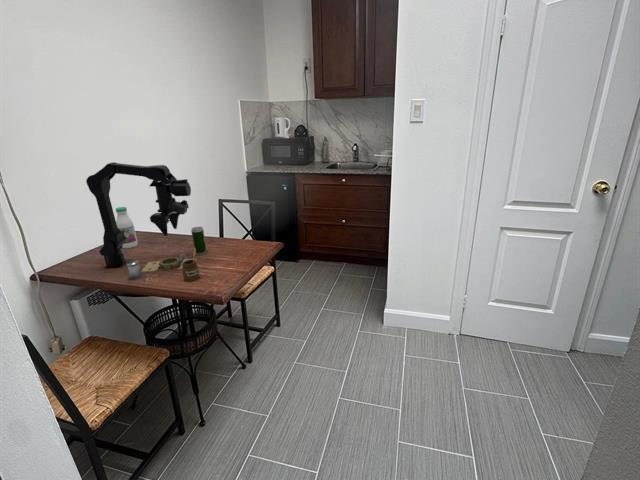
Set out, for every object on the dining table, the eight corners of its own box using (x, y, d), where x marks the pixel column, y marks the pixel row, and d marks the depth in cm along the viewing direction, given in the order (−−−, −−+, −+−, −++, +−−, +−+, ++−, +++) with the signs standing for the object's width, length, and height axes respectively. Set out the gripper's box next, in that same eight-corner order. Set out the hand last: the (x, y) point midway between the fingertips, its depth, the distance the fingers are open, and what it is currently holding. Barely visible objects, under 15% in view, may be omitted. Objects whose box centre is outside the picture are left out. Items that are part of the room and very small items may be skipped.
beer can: (196, 255, 159) (192, 230, 155) (193, 251, 163) (189, 228, 159) (208, 252, 162) (204, 228, 157) (204, 249, 166) (201, 225, 162)
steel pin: (127, 280, 136) (124, 265, 134) (132, 275, 140) (128, 260, 138) (140, 279, 137) (136, 264, 134) (144, 274, 141) (140, 259, 139)
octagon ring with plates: (141, 272, 142) (139, 267, 141) (149, 263, 152) (148, 258, 151) (193, 268, 145) (192, 263, 144) (198, 259, 154) (197, 254, 153)
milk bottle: (122, 244, 175) (113, 206, 169) (139, 242, 178) (131, 205, 171) (119, 249, 168) (109, 210, 162) (136, 247, 171) (127, 208, 164)
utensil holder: (181, 278, 136) (176, 250, 132) (196, 273, 140) (191, 246, 136) (187, 283, 132) (182, 254, 128) (203, 277, 136) (198, 249, 132)
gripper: (174, 201, 133) (180, 239, 138) (192, 191, 151) (197, 225, 156) (146, 201, 133) (153, 239, 139) (167, 191, 151) (173, 225, 156)
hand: (170, 232), depth 147 cm, fingers open, 9 cm apart
